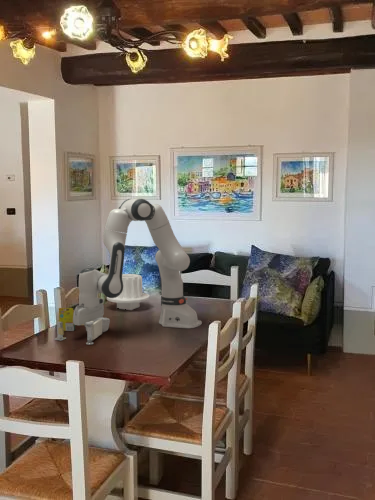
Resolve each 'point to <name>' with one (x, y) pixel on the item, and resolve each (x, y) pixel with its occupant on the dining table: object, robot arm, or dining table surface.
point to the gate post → (89, 335)
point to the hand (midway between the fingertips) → (89, 330)
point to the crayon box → (67, 319)
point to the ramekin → (104, 323)
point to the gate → (96, 328)
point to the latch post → (60, 331)
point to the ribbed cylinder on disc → (130, 293)
